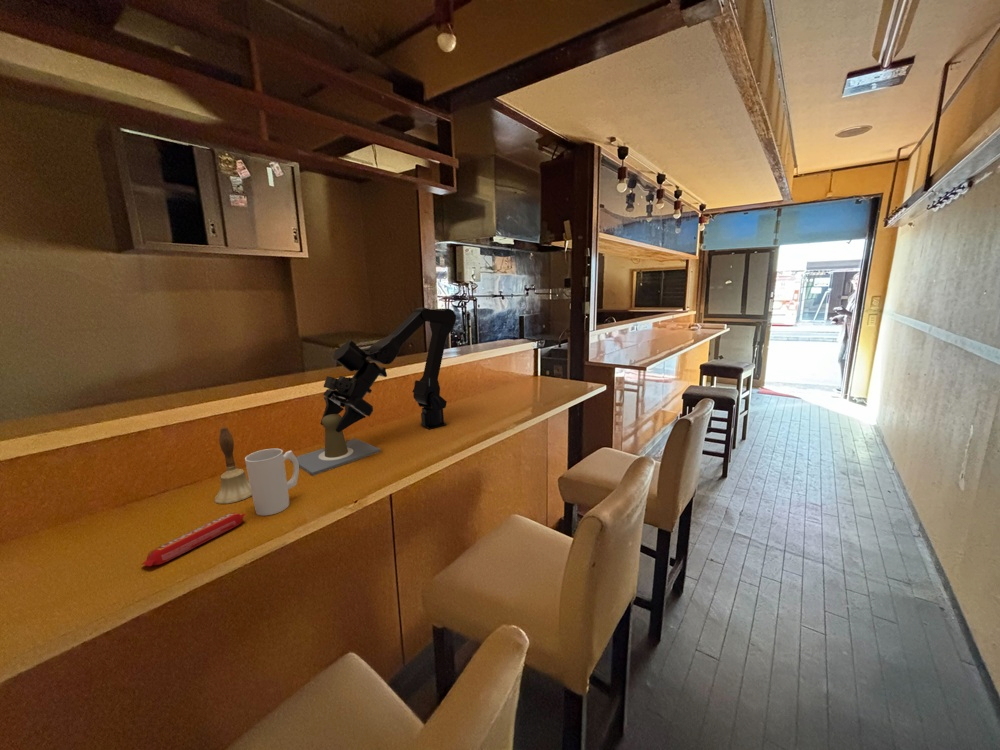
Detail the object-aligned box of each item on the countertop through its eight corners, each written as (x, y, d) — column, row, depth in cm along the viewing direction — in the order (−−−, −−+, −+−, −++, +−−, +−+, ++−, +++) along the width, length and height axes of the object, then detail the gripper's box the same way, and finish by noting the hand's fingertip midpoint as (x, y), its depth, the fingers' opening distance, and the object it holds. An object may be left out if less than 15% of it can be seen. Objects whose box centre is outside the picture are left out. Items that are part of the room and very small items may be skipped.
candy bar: (238, 519, 81) (235, 506, 80) (249, 523, 79) (246, 510, 79) (140, 568, 67) (136, 552, 66) (151, 574, 65) (147, 558, 65)
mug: (264, 520, 80) (254, 464, 77) (248, 511, 83) (238, 457, 81) (311, 498, 88) (304, 446, 85) (294, 490, 91) (287, 441, 89)
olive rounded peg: (321, 458, 107) (315, 419, 105) (329, 449, 113) (324, 412, 111) (344, 457, 108) (339, 417, 105) (350, 448, 113) (346, 411, 111)
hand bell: (205, 500, 88) (191, 432, 85) (241, 484, 96) (229, 420, 93) (231, 506, 85) (217, 436, 82) (266, 489, 93) (254, 423, 90)
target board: (355, 440, 122) (355, 438, 122) (380, 451, 113) (380, 448, 112) (290, 461, 108) (290, 458, 108) (312, 475, 99) (312, 472, 99)
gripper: (325, 361, 115) (290, 407, 109) (357, 367, 102) (319, 419, 97) (354, 382, 122) (323, 426, 116) (387, 391, 109) (354, 441, 104)
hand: (329, 428), depth 108 cm, fingers open, 9 cm apart
